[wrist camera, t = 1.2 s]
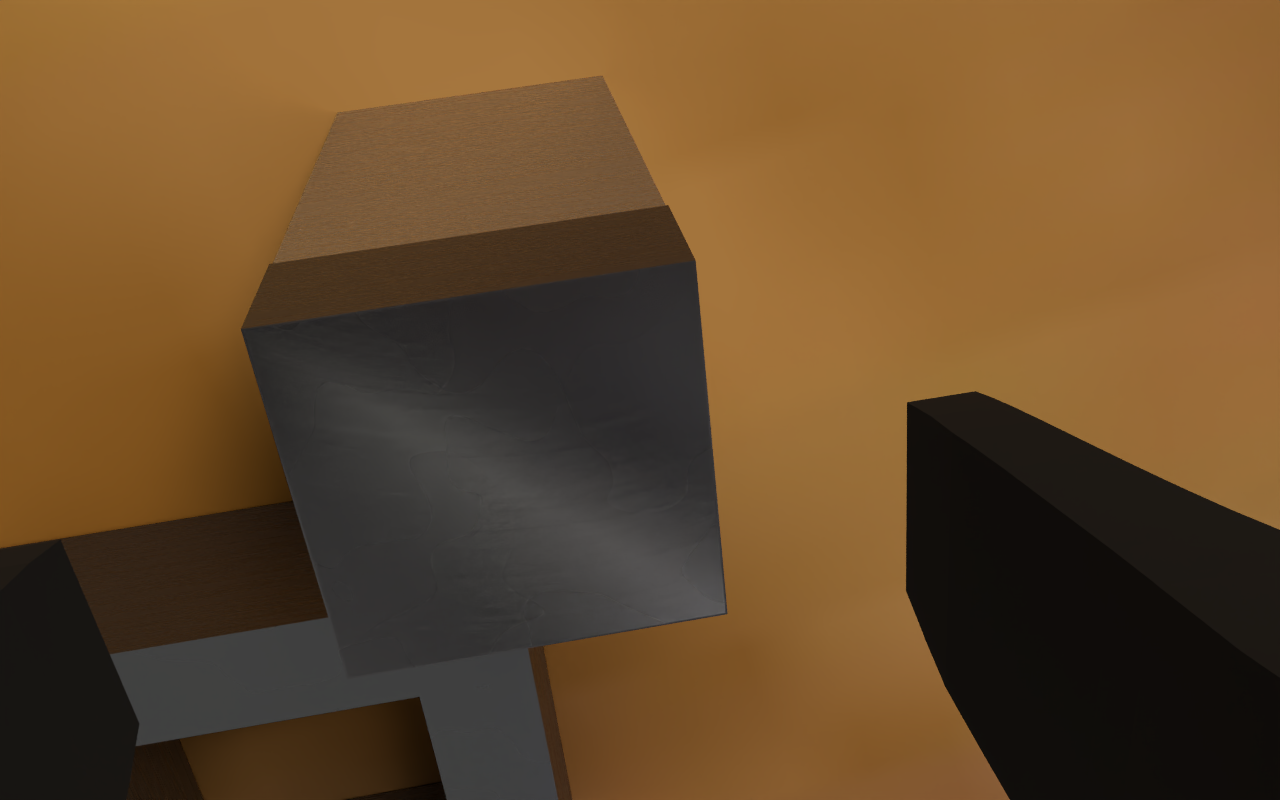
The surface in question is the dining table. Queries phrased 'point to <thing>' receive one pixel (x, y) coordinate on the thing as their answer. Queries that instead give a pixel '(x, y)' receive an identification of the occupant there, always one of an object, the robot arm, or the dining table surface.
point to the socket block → (289, 659)
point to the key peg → (490, 381)
